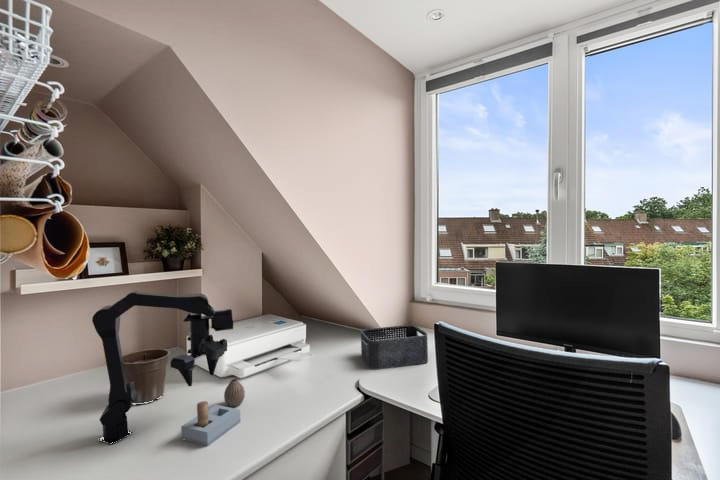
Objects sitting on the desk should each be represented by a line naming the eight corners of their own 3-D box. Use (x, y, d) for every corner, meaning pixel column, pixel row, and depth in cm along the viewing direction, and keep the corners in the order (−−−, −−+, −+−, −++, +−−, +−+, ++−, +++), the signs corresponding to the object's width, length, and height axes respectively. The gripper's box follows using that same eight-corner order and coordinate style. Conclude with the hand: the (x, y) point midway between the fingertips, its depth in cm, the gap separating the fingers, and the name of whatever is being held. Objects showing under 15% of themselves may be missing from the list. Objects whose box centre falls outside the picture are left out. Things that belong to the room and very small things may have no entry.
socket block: (181, 439, 108) (181, 426, 108) (216, 416, 121) (215, 404, 121) (207, 446, 104) (207, 432, 104) (240, 421, 117) (240, 409, 117)
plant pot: (171, 385, 146) (170, 345, 146) (169, 402, 132) (168, 358, 131) (124, 393, 139) (122, 352, 139) (116, 412, 125) (114, 366, 124)
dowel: (195, 434, 108) (194, 405, 108) (203, 429, 111) (202, 400, 111) (203, 436, 107) (202, 406, 107) (211, 431, 110) (210, 402, 110)
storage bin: (370, 370, 158) (370, 340, 158) (359, 356, 177) (359, 329, 177) (430, 363, 166) (430, 334, 165) (413, 350, 184) (413, 324, 184)
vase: (237, 398, 134) (237, 374, 134) (248, 403, 130) (248, 379, 129) (220, 405, 129) (219, 380, 128) (231, 411, 124) (230, 385, 124)
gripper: (196, 344, 107) (197, 396, 107) (239, 327, 124) (240, 372, 124) (168, 340, 111) (170, 390, 111) (213, 325, 128) (214, 368, 129)
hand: (201, 380), depth 119 cm, fingers open, 9 cm apart
